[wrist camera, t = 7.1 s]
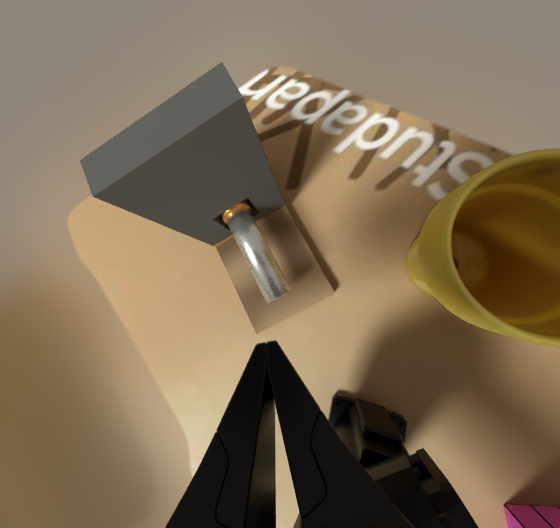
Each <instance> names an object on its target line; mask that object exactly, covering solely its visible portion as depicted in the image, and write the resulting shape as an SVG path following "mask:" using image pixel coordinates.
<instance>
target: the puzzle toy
mask: <svg viewBox="0 0 560 528" xmlns="http://www.w3.org/2000/svg"><path fill="white" fill-rule="evenodd" d="M504 508H505V513H506V517H507V522H508V526H509V528H560V507H559V508H558V507H550V506H530V505H513V504H504Z"/></svg>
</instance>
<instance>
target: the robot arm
mask: <svg viewBox="0 0 560 528" xmlns="http://www.w3.org/2000/svg"><path fill="white" fill-rule="evenodd" d="M336 400H339V401H340V403H336V402H335V401H336ZM275 405H276V409H277V414H278V418H279V423H280V427H281V432H282V436H283V440H284V445H285V449H286V454H287V458H288V463H289V467H290V472H291V476H292V480H293V485H294V489H295V494H296V498H297V503H298V507H299V515H298V518H297V520H296V523H295V525H294V528H478V526H477V524H476V523H475V521H474V520H473V518H472V516H471V515H470V513H469V512H468V510H467V509H466V507H465V505H464V504H463V502H462V501H461V499H460V498H459V496H458V494H457V493H456V491H455V490H454V488H453V487H452V485H451V484H450V482H449V481H448V480H447V478H446V477H445V476H444V474H443V473H442V472H441V470H440V469H439V468H438V466H437V465H436V464H435V463H434V461H433V460H432V459H431V457H430V456H429V455H428V454H427V452H426V451H425V450H424V448H422V449H420V450H417V451H416V453H415V454H412V455H410V456H409V454H408V452H407V450H406V448H405V446H404V439H405V432H406V426H407V422H406V420H405V419H404V417H403V416H402V415H400V414H397V413H394V412H390V411H387V410H386V409H385V407H382V406H379V405H376V404H373V403H369V402H366V401H363V400H360V399H356V400H352V399H349V398H345V397H342V396H339V395H335V396H334V397H333V398H332V403H331V408H330V414H329V419H328V420H327V418H326V416H325V415H324V413H323V412H322V411H321V410H320V407H319V406H318V404H317V403H316V401H315V400H314V398H313V397H312V395H311V393H310V392H309V390H308V389H307V387H306V386H305V384H304V383H303V381H302V380H301V378H300V376H299V375H298V373H297V372H296V370H295V369H294V367H293V366H292V364H291V363H290V361H289V359H288V358H287V356H286V355H285V353H284V352H283V350H282V349H281V347H280V345H279V344H278V342H277V341H269V342H267V344H266V343H265V342H264V343H259V344H256V346H255V348H254V350H253V352H252V354H251V357H250V359H249V361H248V363H247V365H246V367H245V370H244V372H243V374H242V376H241V378H240V380H239V383H238V385H237V387H236V389H235V391H234V393H233V396H232V398H231V400H230V402H229V404H228V406H227V409H226V411H225V413H224V415H223V417H222V419H221V422H220V424H219V426H218V428H217V432H216V433H215V434H214V436H213V439H212V441H211V443H210V445H209V447H208V449H207V451H206V453H205V455H204V457H203V460H202V462H201V464H200V466H199V468H198V469H197V471H196V473H195V475H194V477H193V479H192V480H191V482H190V484H189V486H188V488H187V490H186V491H185V493H184V495H183V497H182V499H181V500H180V502H179V504H178V506H177V508H176V509H175V511H174V513H173V515H172V516H171V518H170V520H169V522H168V523H167V525H166V527H165V528H276V485H275ZM398 420H402V422H401V423H398Z"/></svg>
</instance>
